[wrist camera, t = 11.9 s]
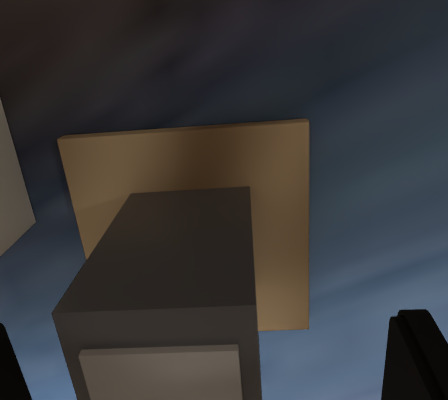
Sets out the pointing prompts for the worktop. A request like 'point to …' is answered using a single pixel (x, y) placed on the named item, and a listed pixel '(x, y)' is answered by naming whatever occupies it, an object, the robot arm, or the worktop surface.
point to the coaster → (206, 179)
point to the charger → (167, 302)
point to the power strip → (12, 192)
